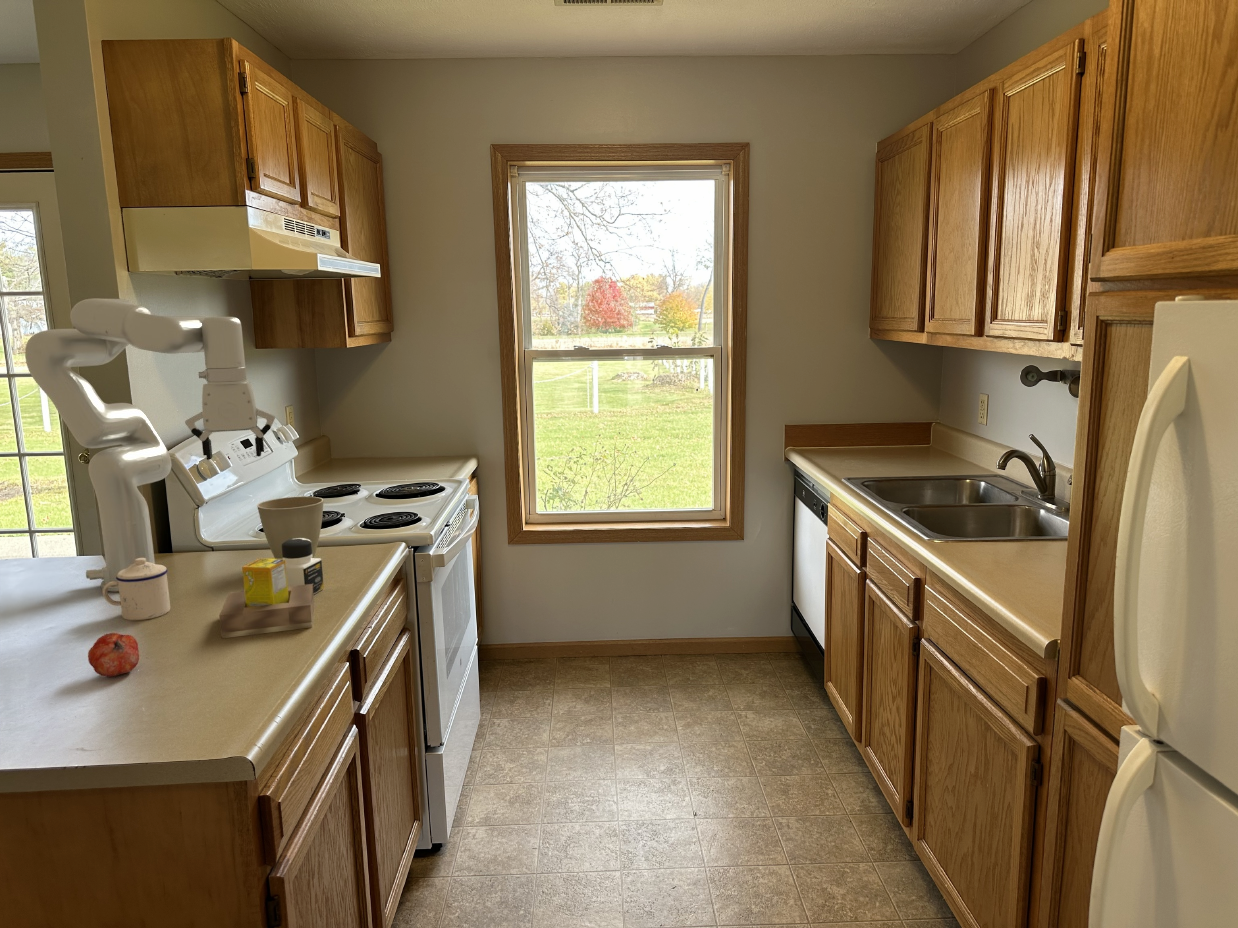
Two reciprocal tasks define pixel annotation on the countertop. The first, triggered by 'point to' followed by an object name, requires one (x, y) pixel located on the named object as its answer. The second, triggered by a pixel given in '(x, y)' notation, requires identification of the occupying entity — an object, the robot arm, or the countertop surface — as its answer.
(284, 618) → the wooden square frame
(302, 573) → the medicine bottle
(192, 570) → the countertop surface
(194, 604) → the countertop surface
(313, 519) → the plant pot
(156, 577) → the teacup with lid
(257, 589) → the supplement box
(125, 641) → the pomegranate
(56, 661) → the countertop surface
